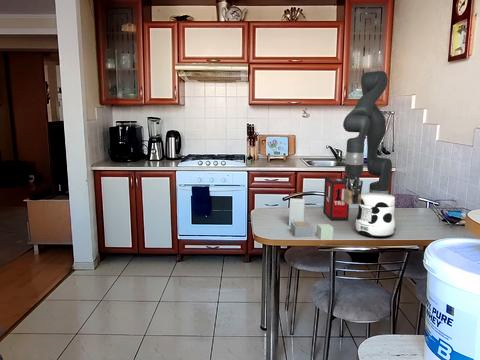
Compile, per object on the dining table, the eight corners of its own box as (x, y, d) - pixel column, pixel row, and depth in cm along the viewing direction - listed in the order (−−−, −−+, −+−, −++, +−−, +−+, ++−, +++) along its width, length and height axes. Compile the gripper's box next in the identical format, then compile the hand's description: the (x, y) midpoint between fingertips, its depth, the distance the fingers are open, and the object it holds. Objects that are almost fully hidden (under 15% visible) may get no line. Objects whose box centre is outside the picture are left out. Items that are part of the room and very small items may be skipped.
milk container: (391, 230, 189) (394, 193, 186) (397, 241, 172) (400, 201, 169) (353, 227, 193) (356, 191, 190) (355, 238, 176) (358, 198, 173)
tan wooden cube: (355, 201, 174) (356, 189, 173) (360, 204, 169) (361, 191, 168) (343, 201, 173) (344, 189, 172) (348, 204, 168) (349, 191, 167)
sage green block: (328, 235, 180) (328, 224, 179) (332, 239, 174) (333, 227, 173) (316, 236, 179) (317, 224, 178) (320, 240, 173) (321, 228, 172)
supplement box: (303, 227, 192) (304, 202, 190) (288, 226, 193) (289, 201, 191) (304, 223, 199) (305, 198, 197) (289, 222, 200) (290, 198, 198)
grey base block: (307, 231, 186) (307, 220, 185) (312, 237, 178) (312, 225, 177) (290, 232, 185) (290, 221, 184) (295, 237, 177) (295, 226, 176)
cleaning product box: (348, 220, 204) (350, 182, 201) (331, 220, 204) (333, 182, 200) (338, 212, 220) (340, 177, 217) (323, 212, 220) (324, 177, 217)
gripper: (370, 165, 161) (367, 205, 164) (355, 160, 175) (353, 197, 178) (352, 165, 160) (350, 205, 163) (339, 160, 174) (337, 198, 177)
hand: (351, 201), depth 171 cm, fingers closed on tan wooden cube, 5 cm apart
